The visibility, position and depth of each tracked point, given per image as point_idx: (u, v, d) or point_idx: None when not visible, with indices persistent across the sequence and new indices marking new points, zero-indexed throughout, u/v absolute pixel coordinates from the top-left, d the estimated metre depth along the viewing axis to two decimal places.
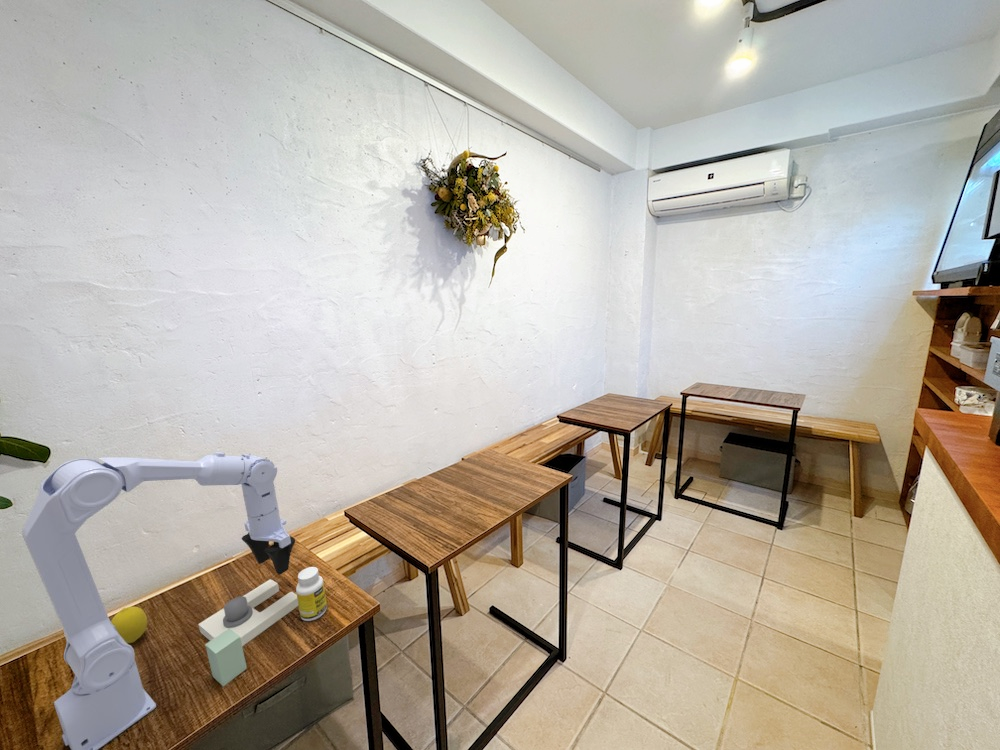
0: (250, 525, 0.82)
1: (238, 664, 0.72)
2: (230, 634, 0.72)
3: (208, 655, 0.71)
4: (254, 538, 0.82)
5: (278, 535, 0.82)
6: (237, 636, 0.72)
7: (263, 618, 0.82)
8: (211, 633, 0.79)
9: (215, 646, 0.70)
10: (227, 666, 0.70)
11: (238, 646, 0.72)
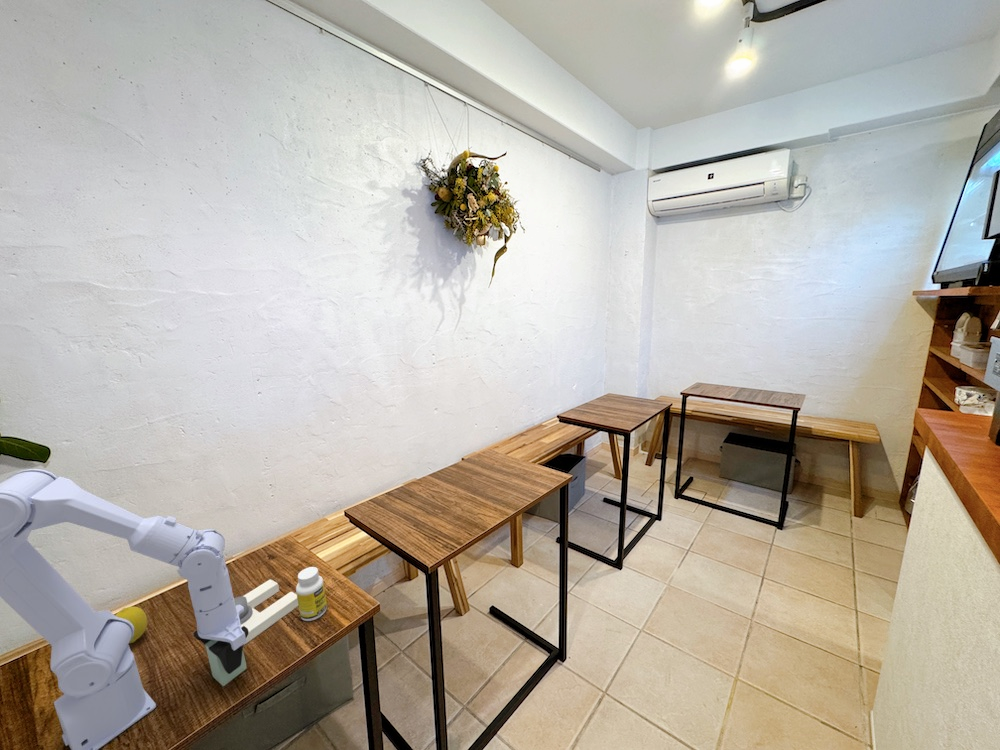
0: (197, 620, 0.68)
1: None
2: None
3: (208, 655, 0.71)
4: (202, 636, 0.68)
5: (231, 632, 0.68)
6: None
7: (263, 618, 0.82)
8: None
9: None
10: None
11: None
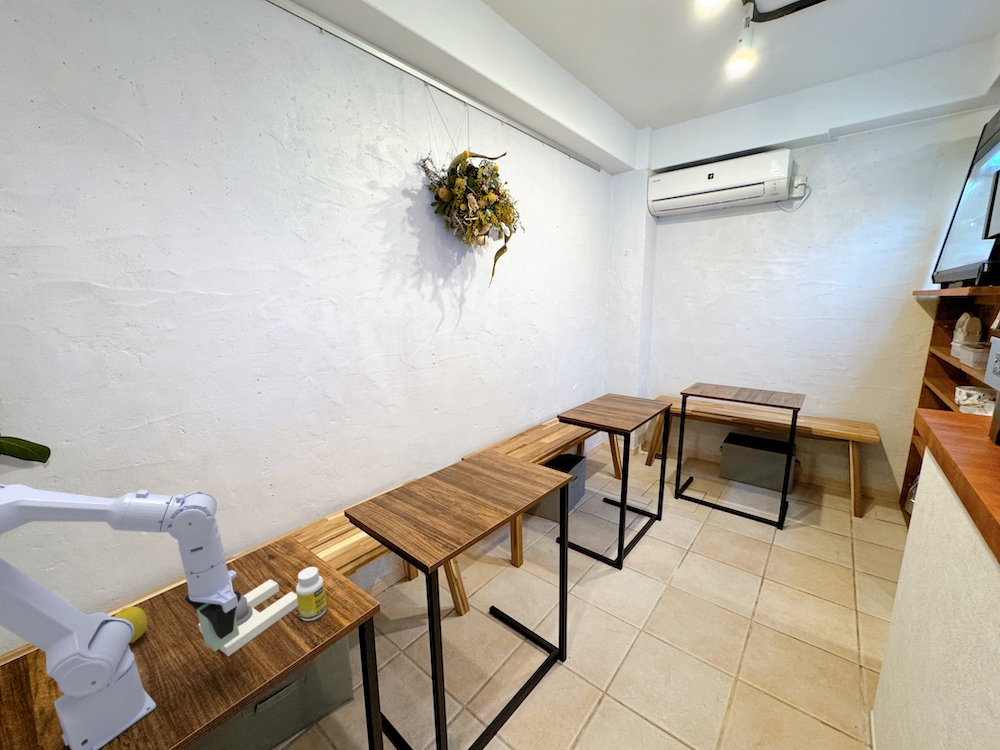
0: (188, 583, 0.66)
1: None
2: None
3: (199, 620, 0.69)
4: (193, 599, 0.66)
5: (222, 595, 0.66)
6: None
7: (263, 618, 0.82)
8: None
9: None
10: None
11: None
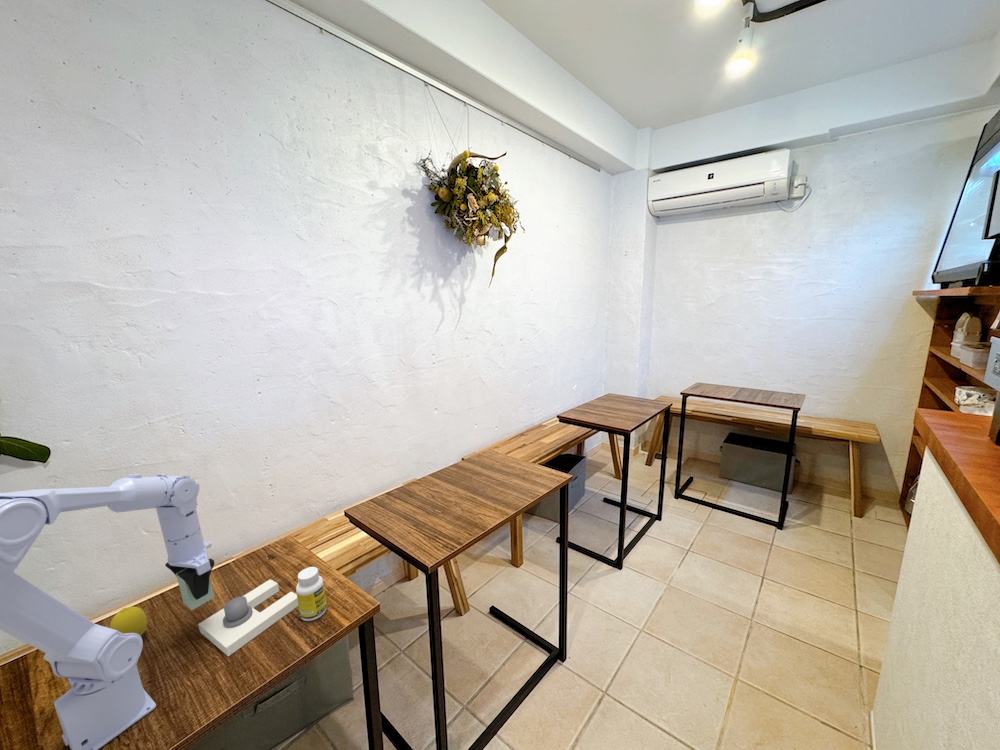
0: (167, 550, 0.76)
1: None
2: None
3: (179, 583, 0.79)
4: (171, 564, 0.76)
5: (197, 560, 0.76)
6: None
7: (263, 618, 0.82)
8: (211, 633, 0.79)
9: None
10: None
11: None
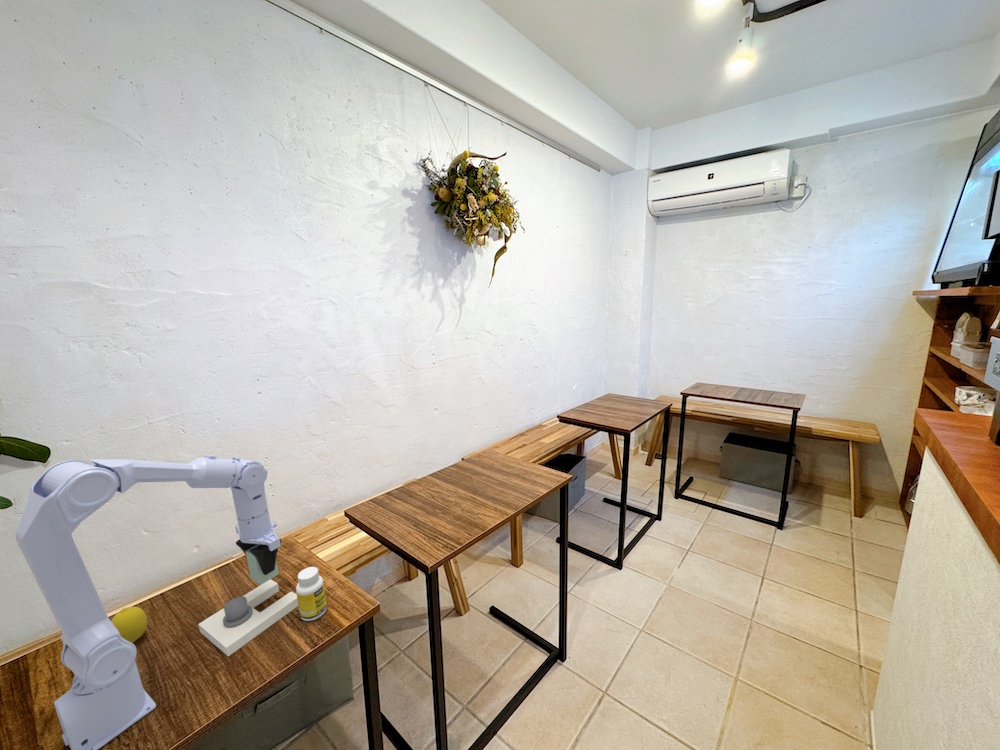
0: (240, 528, 0.82)
1: None
2: None
3: (248, 560, 0.85)
4: (244, 541, 0.82)
5: (268, 538, 0.82)
6: None
7: (263, 618, 0.82)
8: (211, 633, 0.79)
9: None
10: None
11: None
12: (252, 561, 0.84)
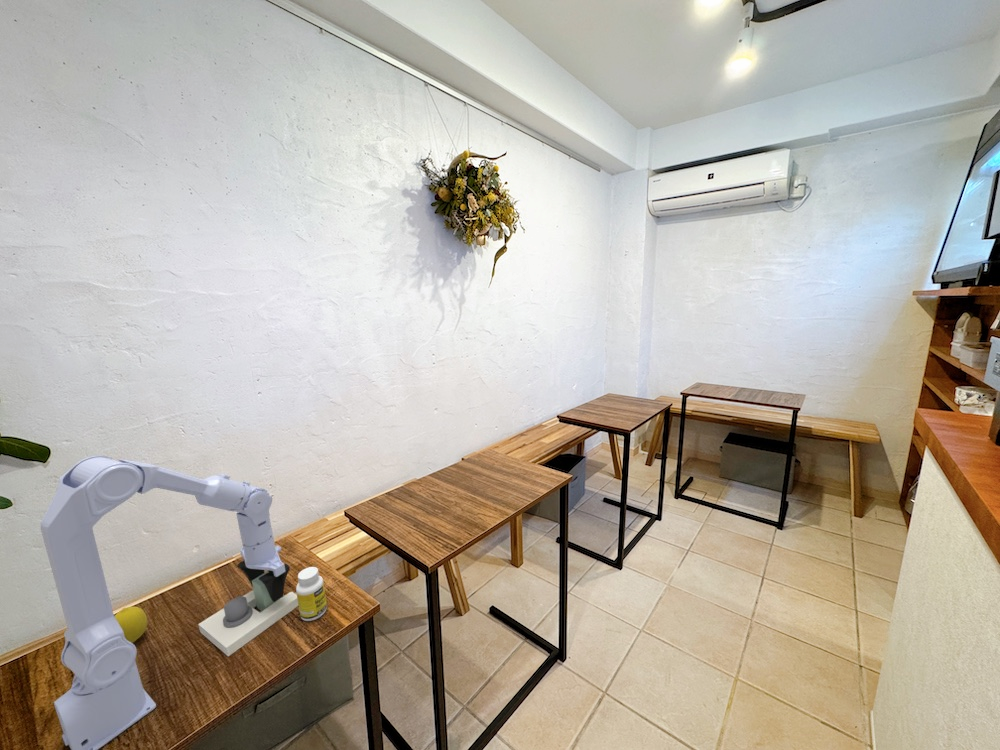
0: (245, 554, 0.83)
1: None
2: None
3: (254, 590, 0.87)
4: (249, 566, 0.83)
5: (273, 563, 0.83)
6: None
7: (263, 618, 0.82)
8: (211, 633, 0.79)
9: (260, 582, 0.86)
10: (270, 598, 0.86)
11: None
12: (258, 591, 0.86)
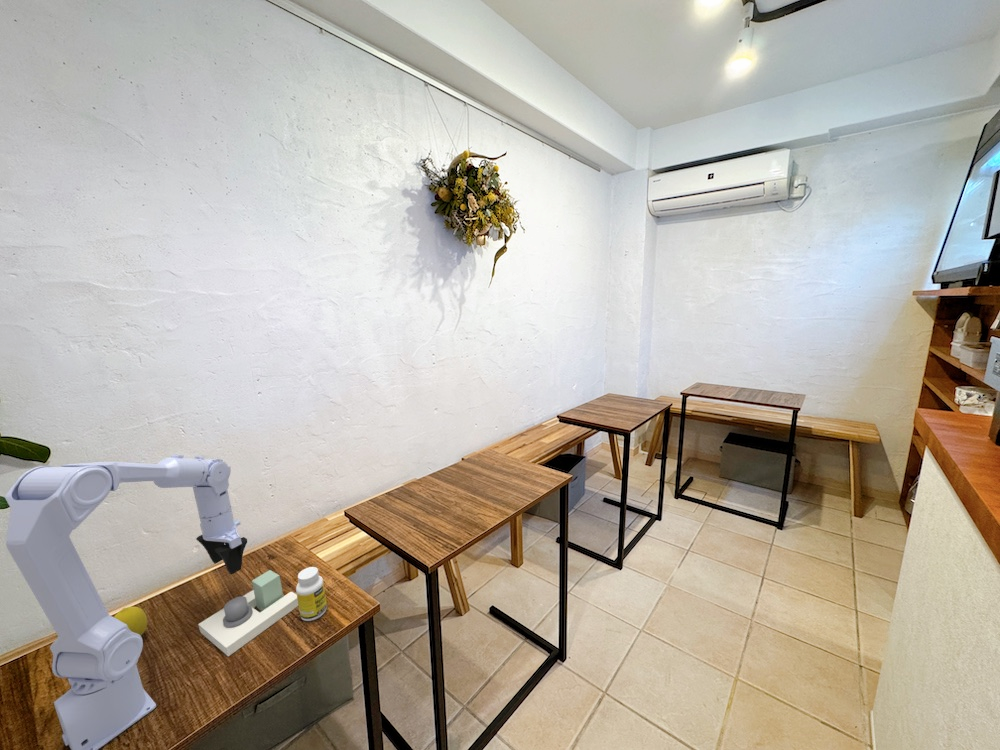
0: (202, 526, 0.84)
1: (277, 597, 0.88)
2: (271, 573, 0.88)
3: (254, 590, 0.87)
4: (206, 538, 0.84)
5: (229, 536, 0.84)
6: (277, 575, 0.88)
7: (263, 618, 0.82)
8: (211, 633, 0.79)
9: (260, 582, 0.86)
10: (270, 598, 0.86)
11: (278, 583, 0.88)
12: (258, 591, 0.86)
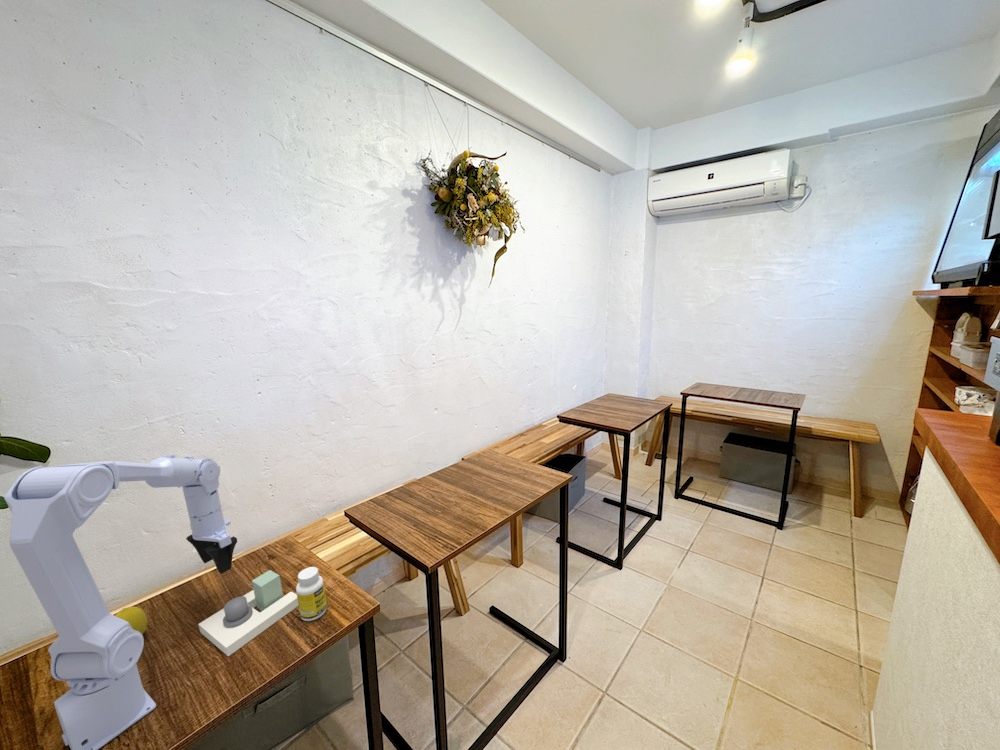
0: (192, 525, 0.84)
1: (277, 597, 0.88)
2: (271, 573, 0.88)
3: (254, 590, 0.87)
4: (195, 538, 0.84)
5: (219, 535, 0.84)
6: (277, 575, 0.88)
7: (263, 618, 0.82)
8: (211, 633, 0.79)
9: (260, 582, 0.86)
10: (270, 598, 0.86)
11: (278, 583, 0.88)
12: (258, 591, 0.86)
